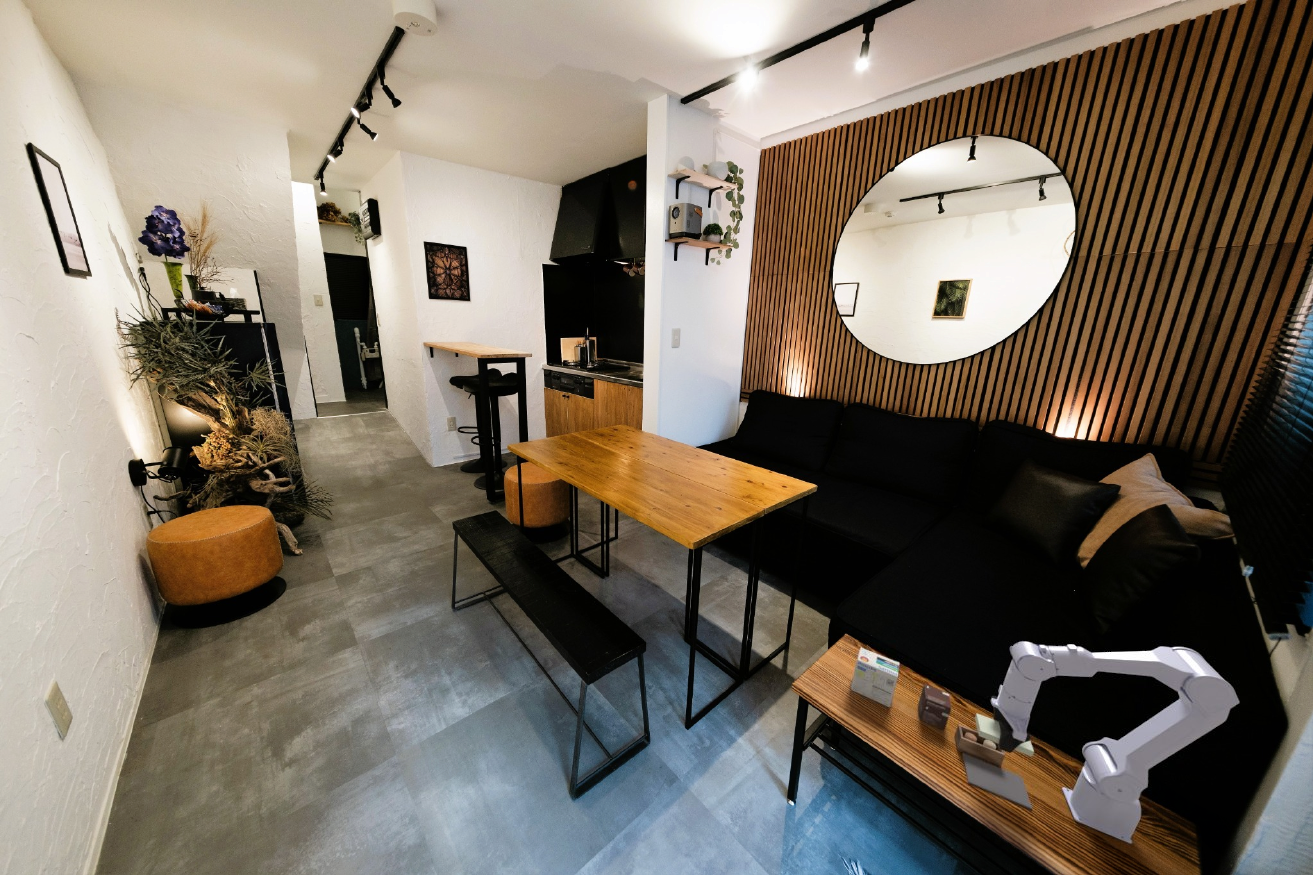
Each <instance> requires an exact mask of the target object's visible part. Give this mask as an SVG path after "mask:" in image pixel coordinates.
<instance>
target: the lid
mask: <svg viewBox="0 0 1313 875" xmlns="http://www.w3.org/2000/svg"><path fill="white" fill-rule="evenodd" d="M993 719H994V718H990V717H988V716H986V715H983V714H980V713H976V714H975V717H974V720H975V721H974V722H975V726H976V729H977V730H976V731H978V734H979V736H980V737H983V738H986V739H988V740H991V741H993V742H996V743H998V744H999V740H1000V726H999V722H998V721H996V720H993ZM1032 744H1033V743H1032V742H1031V740H1030V741H1028V742H1024V743H1022V744H1020V745H1019V746H1018V747H1016V748H1015V749H1014V750H1013V751H1016V752H1018V753H1021V754H1023V755H1027V756H1029V757H1033V756H1034V754H1035V751H1034V746H1033V745H1032Z"/></svg>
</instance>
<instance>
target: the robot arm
mask: <svg viewBox="0 0 1313 875" xmlns="http://www.w3.org/2000/svg"><path fill="white" fill-rule="evenodd" d="M1009 651H1010V655H1011V656H1012V659H1011V662H1010V665H1009V667H1008V670H1007V672H1006V675H1005V678H1004V681H1003V683H1002V684H1003V685H1002V684H1000V685H999V688H998V696H996V695H992V696H991V697H990V698H991V699H990V703H991V705H992V707H993V718H992V719H993V720H996V721H998V722H999V726H1000V740H999V747H1000V749H1001V750H1003V751H1004V752H1005V753H1009V754H1012V753H1013V751H1015V750H1014V749H1015V748H1016V747H1018V746H1019V745H1020V744H1022V743H1024V742H1028V741H1031V739H1032V738H1031V734H1030V732H1028V731H1027V729H1028V725H1029V723H1030V722H1029V721H1030V718H1031V716H1030V715H1031V712H1032V709H1033V706H1034V704H1035V701H1036V698H1037V695H1038V693H1039V690H1040V686H1041V684H1042V682H1043V681H1047V680H1049V679H1051V678H1053V677H1054V678H1056V677H1057V676H1068V677H1089V678H1090V677H1091V678H1092V677H1093V676H1094V675H1095V674H1096V673H1097V672H1105V673H1116V674H1123V675H1124V674H1126V675H1136V676H1144V677H1145V676H1146V677H1152V678H1155V680H1158V681H1159V682H1161V683H1163V684H1164V685H1166V686H1168V687H1169V688H1171V689H1173V690H1174V691H1175V692H1177V693H1178V696H1179V698H1178V700H1176V701H1175V702H1172V703H1171V704H1170V705H1169V706H1166V708H1163V710H1161V711H1160V712H1158V713H1157V714H1155V715H1154V716H1152V717H1151V718H1149V719H1148V720H1147V721H1144V722H1143V723H1142V724H1141V725H1139V726H1138V727H1136V728H1134V729H1132V730H1131V731H1130V732H1128V733H1127V734H1126V735H1125V736H1123V737H1121V738H1120V739H1118V740H1116V739H1112V738H1109V737H1103V738H1102V739H1100V740H1097V741H1090V742H1087V743H1085V745H1083V747H1082V751H1081V752H1082V755H1083V757H1084V759H1085V762H1084V763H1083V765H1084V766H1082V768H1081V772H1080V773H1079V776H1078V778H1077V780H1076V783H1075V784H1074V787H1073V789H1070V788H1067V787H1064V786H1063V787H1062V788H1061V790H1062V794H1063V795H1064V797H1065V800H1066V803H1067V805H1068V807H1069V810H1070V812H1071V815H1072V817H1073V819H1074V820H1075V821H1076V822H1077V823H1080V824H1082V825H1085V826H1087V827H1090V828H1092V829H1095V830H1097V831H1099V832H1101V833H1104V834H1106V835H1109V836H1111V837H1114V838H1116V839H1119V840H1121V841H1122V842H1123V841H1124V842H1126V843H1128V844H1132V843H1133V840H1132V839H1131V838H1132V836H1133V834H1134V832H1135V830H1136V829H1137V826H1138V824H1139V823H1140V819H1141V816H1142V807H1141V803H1140V800H1139V798H1140V797H1141V794H1142V792H1143V791H1144V790H1145V789H1146V788H1148V784H1149V779H1148V778H1149V770H1150V769H1152V768H1154V766H1156V765H1157V764H1159V763H1161V762H1162V761H1164V760H1166V759H1168V757H1170V756H1172V755H1174V754H1175V753H1177V752H1178V751H1180V750H1182V749H1183V748H1185V747H1186V746H1189V744H1192V743H1193V742H1194V741H1196V740H1197V739H1200V738H1201V737H1202V736H1205V735H1206V734H1208V733H1209V732H1211V731H1212V730H1213V729H1215V728H1216V727H1219V726H1220V725H1222V724H1223V723H1224V722H1226V721H1227V719H1228V717H1229V714H1230V711H1231V709H1233V708H1234V707H1236V705H1238V704H1240V700H1239V698H1238V695H1237V694H1236V691H1235V689H1234V687H1233V686H1232V685H1231V684H1230V683H1229V681H1227V680H1225V679H1224V678H1223V677H1222V676H1221V675H1220V674H1219V672H1217V671H1216V670H1215V669H1214V668H1213V666H1211V665H1210V663H1208V662H1207V661H1206V660H1205V658H1204V657H1203V656H1202V655H1201V654H1200V653H1199V652H1197V651H1196V650H1194V649H1192V648H1188V647H1184V646H1173V647H1169V646H1158V647H1157V648H1154V649H1152V650H1146V651H1145V650H1142V651H1141V650H1140V651H1111V652H1110V651H1109V652H1108V651H1107V652H1105V651H1104V652H1091V651H1089V650H1087V649H1086V648H1084V647H1082V646H1076V645H1075V644H1067V645H1063V646H1062V645H1058V646H1056V645H1045V644H1035V643H1033V642H1030V641H1019V642H1016V643H1014V644H1013V646H1012V645H1010V647H1009Z"/></svg>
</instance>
